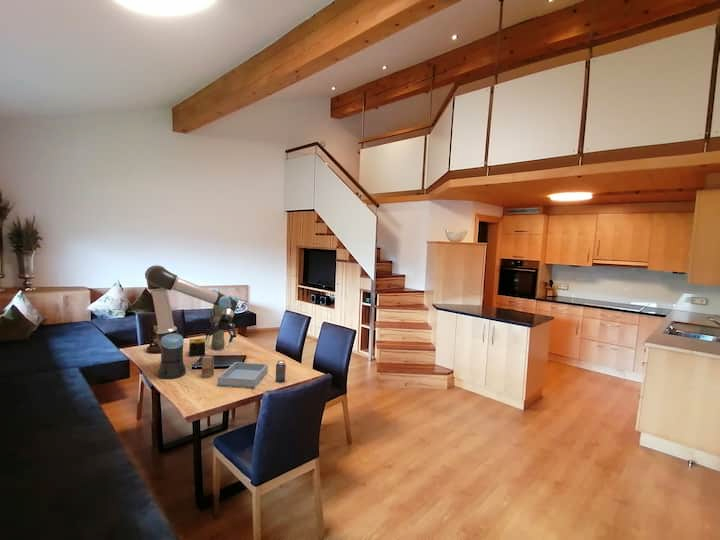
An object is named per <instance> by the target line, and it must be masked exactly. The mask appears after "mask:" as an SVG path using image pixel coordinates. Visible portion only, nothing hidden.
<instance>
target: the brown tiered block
mask: <svg viewBox="0 0 720 540" xmlns="http://www.w3.org/2000/svg"><path fill="white" fill-rule="evenodd" d="M154 324H155V323H152V326H149V328H148V329H149V333H148V334H149V340H148V341H149V345H148V346H146V349H145V350H146V351H147V352H149V353H150V354H153V353H161V349H160V347H159V345H158V343H157V339H158V338H157V333H156V332H157V331H158V329H159V328H158V324H157V325H154Z"/></svg>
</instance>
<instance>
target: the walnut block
mask: <svg viewBox="0 0 720 540" xmlns="http://www.w3.org/2000/svg"><path fill="white" fill-rule="evenodd" d="M214 372H215V355H212V354H211V355H210V354H205V356H201V378H206V379H210V378H212V377H214V376H215V375H214Z"/></svg>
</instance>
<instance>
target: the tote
mask: <svg viewBox="0 0 720 540" xmlns="http://www.w3.org/2000/svg"><path fill="white" fill-rule="evenodd" d="M268 369H269V364H267V363H256V362H254V363H253V362H242V361H241V362H239V361H234V363H232V364H231V365H230V366H229V367H228V368H226V369H225V370H224V371H223V372H221V373H220V374H219V375H218V376H217V382H216V383H217V385H216V386H217V387H227V386H232V387H231V388H241V387H248V388H247V389H255V388H256V387H257V386H258V385H259V383H260V382H261V381H262V380H263V378H264V377H265V376H266V375H265V374H267V373H268V371H269V370H268ZM260 380H261V381H260ZM256 385H257V386H256ZM255 386H256V387H255Z"/></svg>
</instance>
